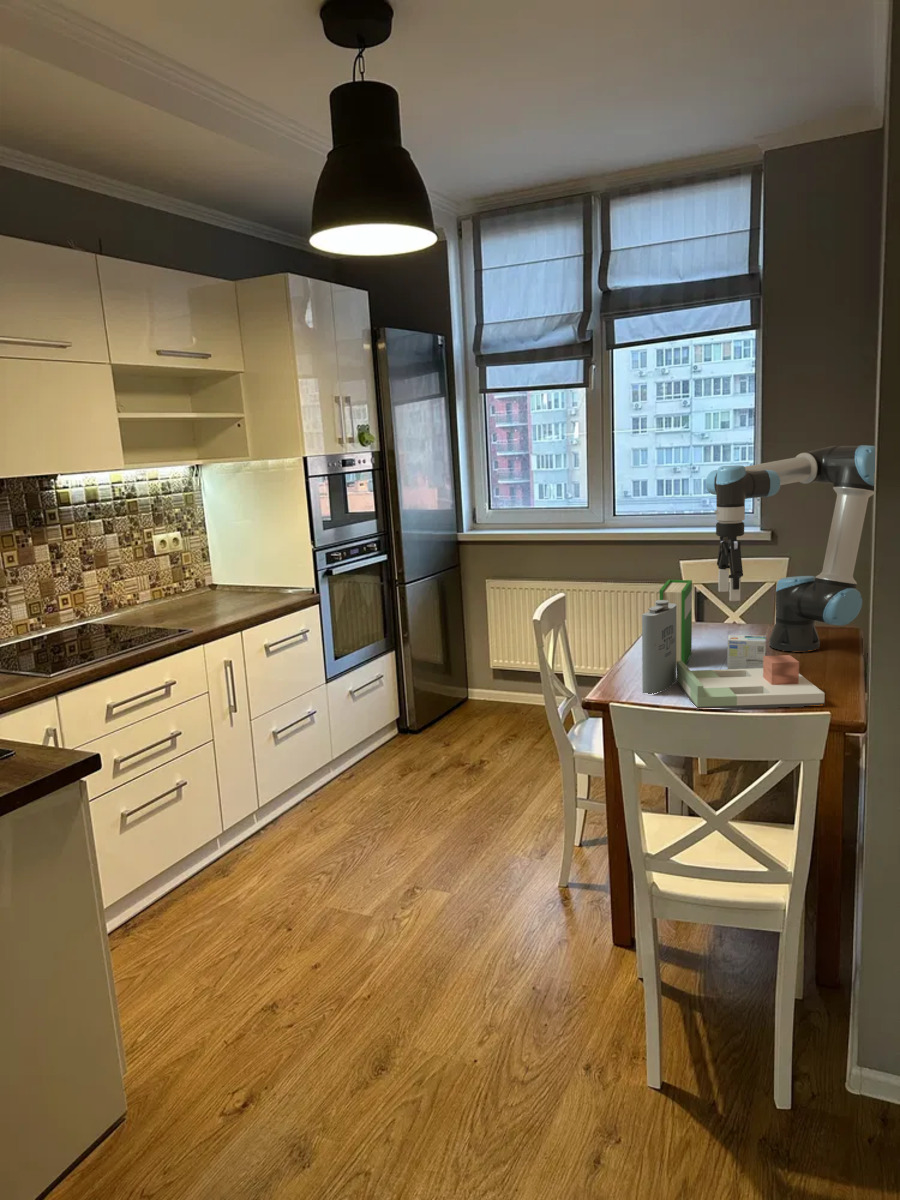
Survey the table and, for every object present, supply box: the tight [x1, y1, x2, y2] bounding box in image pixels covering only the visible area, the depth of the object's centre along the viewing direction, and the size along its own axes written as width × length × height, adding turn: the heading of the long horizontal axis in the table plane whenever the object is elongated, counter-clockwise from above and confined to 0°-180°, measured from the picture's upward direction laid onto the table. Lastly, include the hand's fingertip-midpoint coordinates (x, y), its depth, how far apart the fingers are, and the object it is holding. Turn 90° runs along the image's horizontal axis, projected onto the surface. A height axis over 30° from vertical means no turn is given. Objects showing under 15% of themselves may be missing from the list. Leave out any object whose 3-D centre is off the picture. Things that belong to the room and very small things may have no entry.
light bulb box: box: [727, 634, 767, 669], centre depth 240 cm, size 11×7×11 cm, turn 71°
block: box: [763, 654, 800, 685], centre depth 220 cm, size 7×7×6 cm
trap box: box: [676, 661, 826, 711], centre depth 221 cm, size 32×24×6 cm
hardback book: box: [659, 579, 693, 666], centre depth 255 cm, size 18×7×24 cm, turn 157°
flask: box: [641, 599, 677, 694], centre depth 229 cm, size 17×5×25 cm, turn 143°
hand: (729, 596), depth 233 cm, fingers open, 13 cm apart
